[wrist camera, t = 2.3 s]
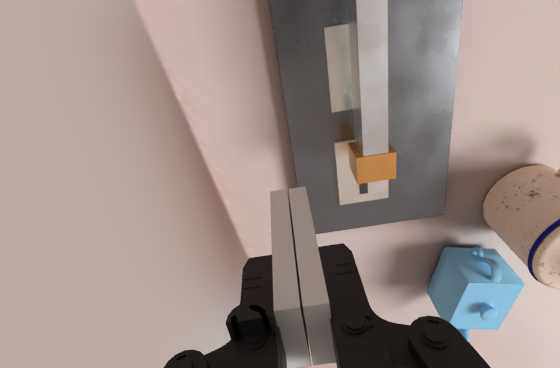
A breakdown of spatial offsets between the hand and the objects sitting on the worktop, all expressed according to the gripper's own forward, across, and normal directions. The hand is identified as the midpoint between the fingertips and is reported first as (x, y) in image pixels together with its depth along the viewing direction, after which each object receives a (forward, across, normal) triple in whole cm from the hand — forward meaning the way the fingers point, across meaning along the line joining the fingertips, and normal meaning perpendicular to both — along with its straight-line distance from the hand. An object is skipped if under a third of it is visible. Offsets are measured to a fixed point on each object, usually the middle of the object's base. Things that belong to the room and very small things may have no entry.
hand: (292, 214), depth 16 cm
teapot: (+19, +18, -25) cm, 36 cm away
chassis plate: (+18, +8, -1) cm, 20 cm away
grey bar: (+17, +7, +3) cm, 18 cm away
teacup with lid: (+19, +25, -14) cm, 34 cm away
